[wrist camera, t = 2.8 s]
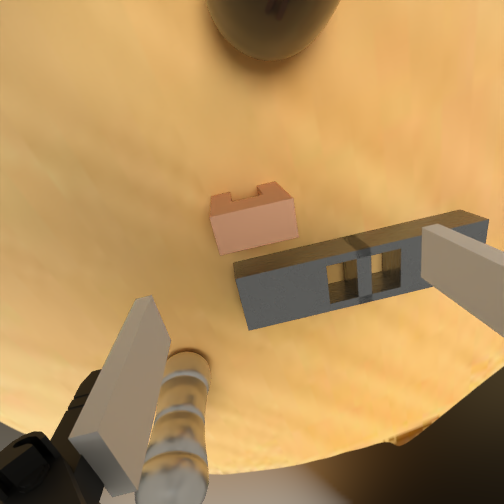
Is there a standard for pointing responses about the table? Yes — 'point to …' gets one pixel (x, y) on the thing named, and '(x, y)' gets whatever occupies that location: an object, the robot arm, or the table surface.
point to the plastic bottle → (178, 436)
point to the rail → (355, 270)
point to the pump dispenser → (271, 25)
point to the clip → (253, 219)
